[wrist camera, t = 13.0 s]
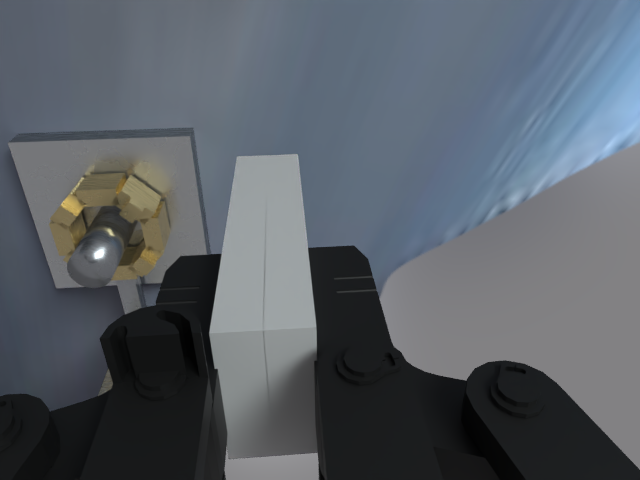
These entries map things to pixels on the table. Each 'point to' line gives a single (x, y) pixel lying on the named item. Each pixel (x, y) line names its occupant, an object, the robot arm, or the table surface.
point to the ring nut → (134, 206)
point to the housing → (104, 221)
